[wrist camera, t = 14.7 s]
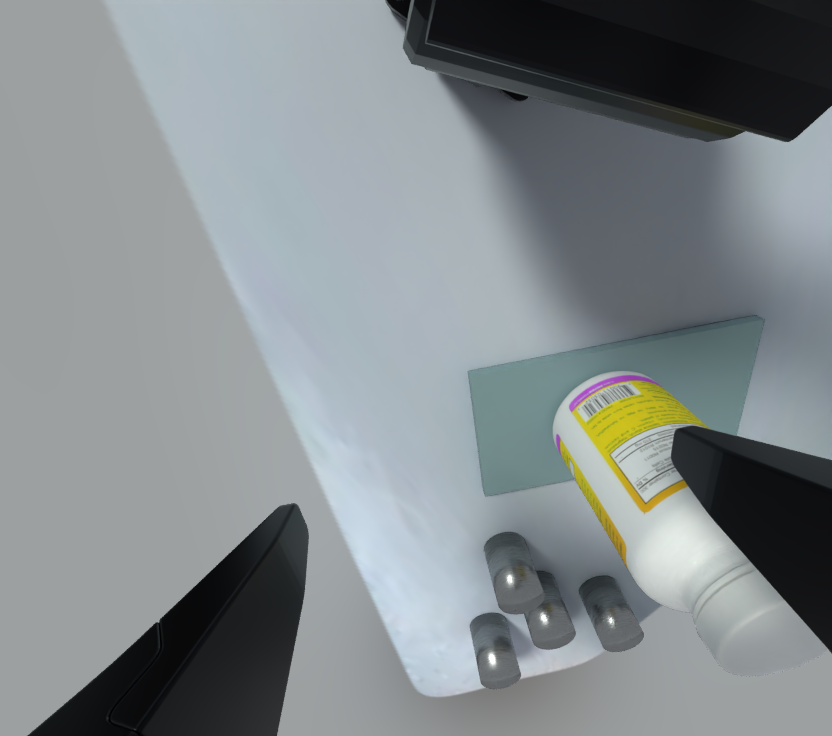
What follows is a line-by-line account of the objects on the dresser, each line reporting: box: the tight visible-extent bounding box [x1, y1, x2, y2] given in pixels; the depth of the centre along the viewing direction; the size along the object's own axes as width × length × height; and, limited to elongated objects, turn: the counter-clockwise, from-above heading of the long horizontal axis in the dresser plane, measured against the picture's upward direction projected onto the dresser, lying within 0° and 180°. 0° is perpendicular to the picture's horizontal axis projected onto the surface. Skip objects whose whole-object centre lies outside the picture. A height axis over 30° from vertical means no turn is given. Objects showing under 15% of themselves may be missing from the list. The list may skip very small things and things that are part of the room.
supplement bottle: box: [553, 371, 829, 676], centre depth 20 cm, size 7×7×13 cm
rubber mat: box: [468, 315, 765, 496], centre depth 26 cm, size 9×16×1 cm, turn 100°
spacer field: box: [470, 532, 644, 689], centre depth 31 cm, size 15×22×4 cm
